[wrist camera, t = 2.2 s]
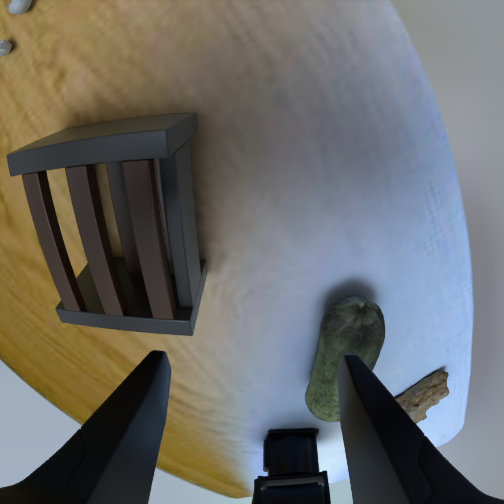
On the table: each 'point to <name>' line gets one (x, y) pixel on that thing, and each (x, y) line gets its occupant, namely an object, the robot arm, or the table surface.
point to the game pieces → (17, 6)
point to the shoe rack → (122, 222)
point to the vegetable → (343, 350)
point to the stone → (424, 395)
